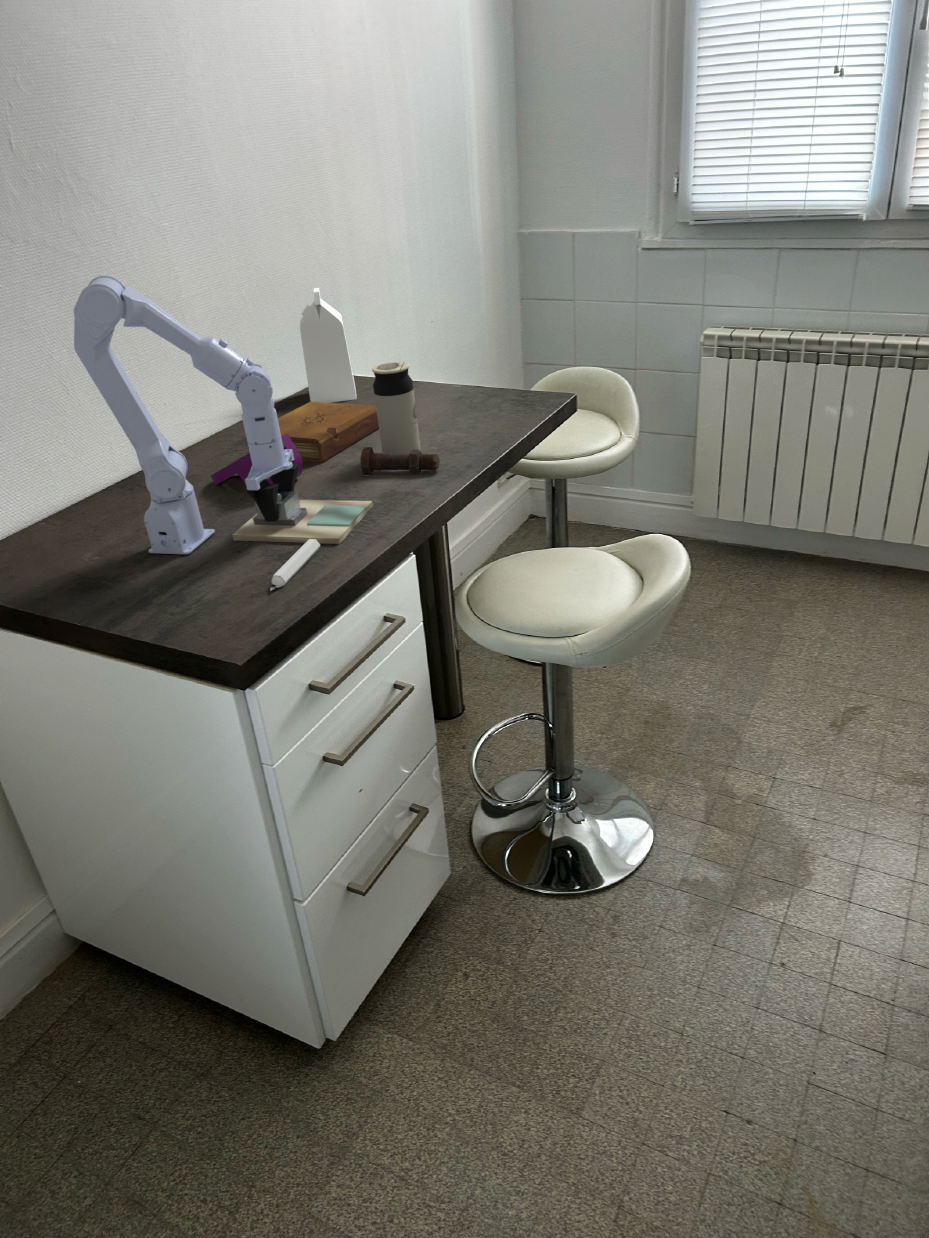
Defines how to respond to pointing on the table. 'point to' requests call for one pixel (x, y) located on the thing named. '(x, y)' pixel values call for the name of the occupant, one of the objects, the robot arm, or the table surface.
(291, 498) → the square hollow frame
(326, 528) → the board
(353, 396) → the milk
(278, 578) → the marker
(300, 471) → the mounting bracket
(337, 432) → the diary
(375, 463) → the bolt
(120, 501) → the table surface
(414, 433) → the travel mug
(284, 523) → the peg base
